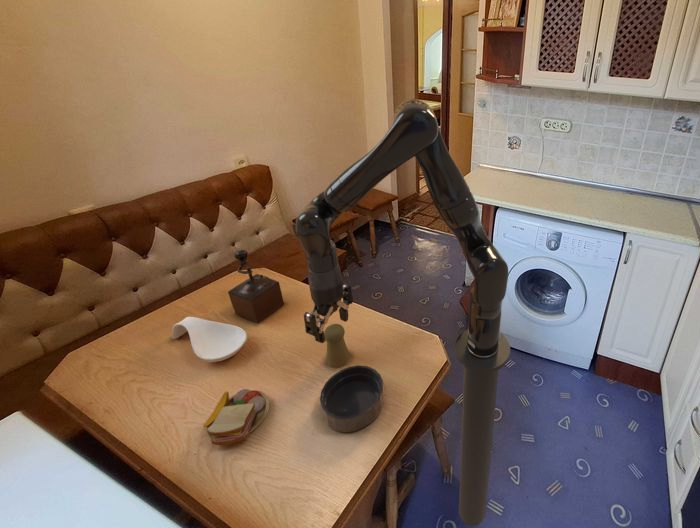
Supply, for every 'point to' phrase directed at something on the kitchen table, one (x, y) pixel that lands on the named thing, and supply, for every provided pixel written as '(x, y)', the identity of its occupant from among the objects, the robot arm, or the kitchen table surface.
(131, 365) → the kitchen table surface
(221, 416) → the toy sandwich meal
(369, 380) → the dark grey bowl
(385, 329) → the kitchen table surface
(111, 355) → the kitchen table surface
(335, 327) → the cork
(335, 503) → the kitchen table surface
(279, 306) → the dark brown coffee grinder
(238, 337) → the spoon rest
